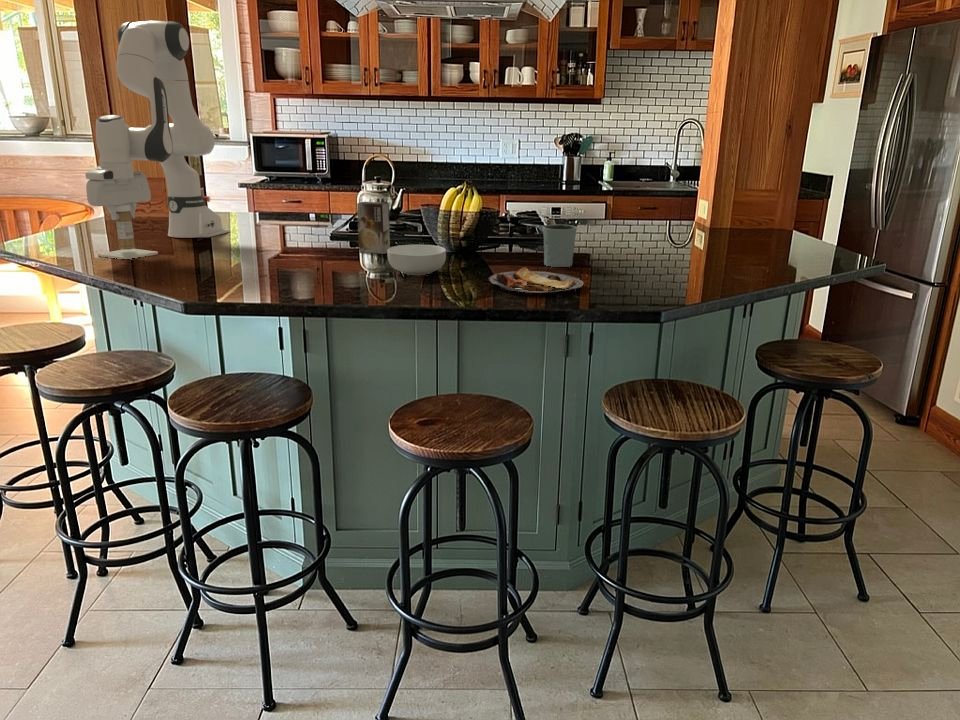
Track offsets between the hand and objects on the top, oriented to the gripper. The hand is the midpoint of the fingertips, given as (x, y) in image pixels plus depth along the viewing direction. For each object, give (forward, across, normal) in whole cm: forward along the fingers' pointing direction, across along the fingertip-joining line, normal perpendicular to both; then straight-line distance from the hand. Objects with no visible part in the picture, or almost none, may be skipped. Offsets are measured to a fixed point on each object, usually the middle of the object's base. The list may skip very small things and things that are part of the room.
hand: (123, 218), depth 220 cm
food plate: (+12, -20, +127) cm, 129 cm away
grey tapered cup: (+11, -52, +123) cm, 134 cm away
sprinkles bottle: (+9, 0, 0) cm, 9 cm away
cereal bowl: (+12, -20, +91) cm, 94 cm away
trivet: (+11, 0, 0) cm, 11 cm away
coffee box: (+11, -44, +62) cm, 77 cm away
